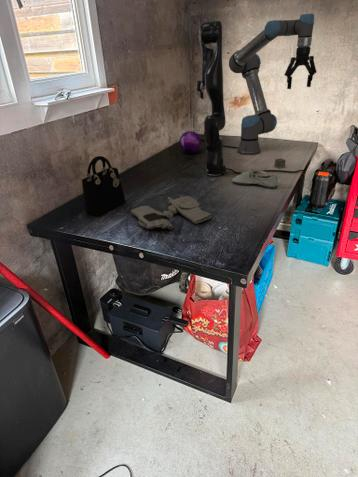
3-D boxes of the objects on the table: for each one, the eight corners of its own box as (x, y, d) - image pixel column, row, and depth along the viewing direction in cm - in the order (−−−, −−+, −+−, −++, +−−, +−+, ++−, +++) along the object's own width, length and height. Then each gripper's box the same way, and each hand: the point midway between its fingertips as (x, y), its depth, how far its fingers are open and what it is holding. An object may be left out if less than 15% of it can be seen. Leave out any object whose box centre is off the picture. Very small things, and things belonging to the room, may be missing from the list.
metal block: (280, 165, 200) (281, 158, 198) (284, 167, 197) (285, 160, 195) (274, 166, 199) (275, 159, 197) (279, 168, 196) (279, 161, 193)
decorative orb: (204, 151, 235) (204, 129, 228) (194, 156, 225) (193, 134, 217) (186, 149, 243) (186, 128, 235) (175, 154, 232) (174, 132, 224)
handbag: (98, 217, 149) (87, 164, 137) (84, 214, 154) (72, 161, 141) (127, 201, 164) (120, 151, 152) (113, 198, 169) (105, 149, 156)
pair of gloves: (147, 237, 131) (146, 225, 129) (129, 213, 152) (128, 202, 149) (214, 220, 141) (214, 209, 138) (188, 199, 162) (188, 189, 159)
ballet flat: (235, 178, 184) (236, 165, 180) (279, 184, 173) (281, 170, 169) (230, 183, 177) (230, 169, 173) (275, 190, 166) (276, 175, 163)
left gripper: (216, 67, 200) (215, 96, 209) (194, 69, 196) (195, 98, 204) (221, 68, 194) (221, 97, 202) (199, 69, 190) (200, 100, 198)
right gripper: (317, 45, 192) (312, 85, 202) (280, 48, 185) (277, 89, 196) (326, 45, 185) (320, 86, 196) (288, 47, 179) (284, 90, 190)
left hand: (208, 98), depth 203 cm, fingers open, 8 cm apart
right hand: (298, 88), depth 196 cm, fingers open, 13 cm apart
